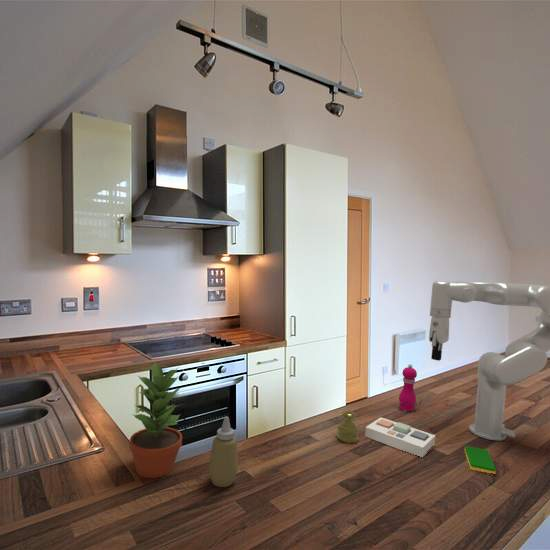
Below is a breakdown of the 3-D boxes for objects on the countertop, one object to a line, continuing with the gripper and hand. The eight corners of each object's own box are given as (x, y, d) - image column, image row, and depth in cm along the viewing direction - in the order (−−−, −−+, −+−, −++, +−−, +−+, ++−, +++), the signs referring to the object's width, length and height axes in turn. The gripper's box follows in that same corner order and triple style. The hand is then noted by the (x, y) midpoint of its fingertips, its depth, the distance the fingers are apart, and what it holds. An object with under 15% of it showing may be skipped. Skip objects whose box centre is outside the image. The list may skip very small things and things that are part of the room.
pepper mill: (412, 413, 168) (416, 367, 167) (395, 408, 173) (399, 363, 172) (417, 409, 174) (421, 364, 173) (401, 404, 178) (405, 361, 177)
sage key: (410, 433, 143) (410, 426, 143) (405, 437, 139) (406, 429, 139) (397, 429, 146) (398, 422, 146) (392, 433, 142) (393, 425, 142)
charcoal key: (427, 442, 139) (428, 434, 139) (423, 447, 135) (424, 438, 135) (414, 438, 142) (415, 430, 142) (410, 442, 138) (410, 434, 138)
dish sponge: (486, 456, 135) (487, 449, 135) (495, 477, 122) (496, 469, 122) (464, 452, 137) (464, 445, 137) (470, 471, 124) (470, 464, 124)
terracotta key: (392, 430, 147) (393, 422, 147) (387, 434, 143) (388, 426, 143) (381, 426, 150) (382, 419, 150) (376, 430, 146) (376, 422, 146)
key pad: (434, 445, 140) (435, 434, 140) (422, 457, 130) (422, 446, 130) (380, 426, 153) (381, 416, 153) (364, 436, 143) (365, 426, 143)
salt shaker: (334, 440, 138) (336, 412, 138) (339, 432, 145) (341, 405, 145) (355, 445, 135) (358, 417, 135) (359, 436, 142) (361, 409, 142)
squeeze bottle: (213, 493, 103) (217, 425, 102) (203, 476, 110) (207, 413, 109) (241, 486, 107) (246, 421, 106) (230, 471, 114) (235, 410, 113)
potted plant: (153, 490, 103) (160, 376, 101) (116, 469, 111) (122, 364, 109) (194, 466, 115) (200, 365, 114) (158, 449, 123) (163, 355, 122)
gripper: (444, 315, 145) (440, 365, 146) (455, 313, 156) (451, 358, 157) (424, 313, 150) (419, 360, 150) (436, 310, 161) (432, 354, 162)
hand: (436, 359), depth 154 cm, fingers closed
